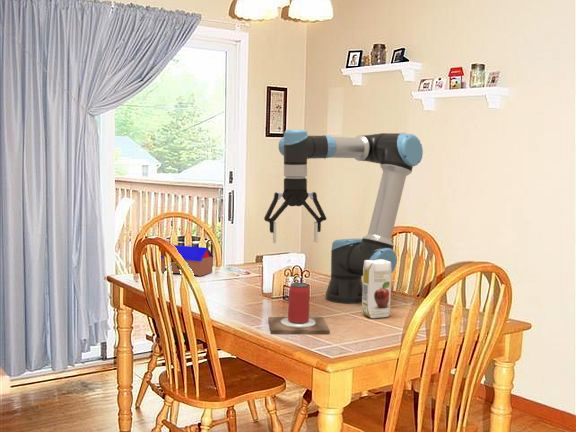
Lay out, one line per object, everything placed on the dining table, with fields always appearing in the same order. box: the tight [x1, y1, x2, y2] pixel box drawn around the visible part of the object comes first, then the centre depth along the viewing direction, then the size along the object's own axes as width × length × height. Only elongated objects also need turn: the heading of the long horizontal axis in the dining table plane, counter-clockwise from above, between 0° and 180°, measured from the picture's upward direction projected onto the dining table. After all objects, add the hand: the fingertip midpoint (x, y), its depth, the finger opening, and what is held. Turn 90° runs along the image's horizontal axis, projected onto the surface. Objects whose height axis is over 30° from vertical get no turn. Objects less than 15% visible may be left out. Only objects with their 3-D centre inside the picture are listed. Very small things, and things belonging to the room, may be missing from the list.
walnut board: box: [267, 316, 331, 335], centre depth 217 cm, size 18×16×1 cm
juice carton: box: [361, 259, 392, 319], centre depth 233 cm, size 8×9×19 cm
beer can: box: [287, 282, 311, 324], centre depth 216 cm, size 7×7×12 cm
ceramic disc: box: [281, 318, 316, 328], centre depth 217 cm, size 11×11×1 cm
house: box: [160, 244, 214, 277], centre depth 304 cm, size 12×20×12 cm, turn 69°
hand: (295, 242), depth 225 cm, fingers open, 13 cm apart
